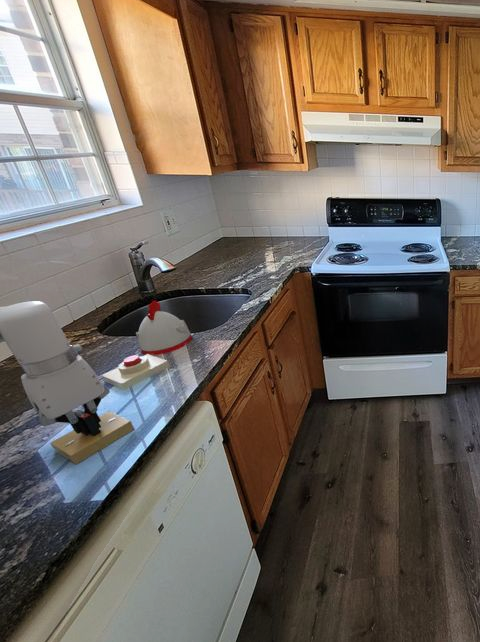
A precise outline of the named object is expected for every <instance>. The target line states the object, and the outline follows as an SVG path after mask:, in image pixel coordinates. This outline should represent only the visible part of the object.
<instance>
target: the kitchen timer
mask: <svg viewBox="0 0 480 642" xmlns="http://www.w3.org/2000/svg"><path fill="white" fill-rule="evenodd" d="M147 306H148V309H147V310H146V311H147V312H148V314H146V316H145V317H144V318H143V320H142V321H141V323H140V325H139V328H138V331H136V332H135V335H136V338H137V340H138V346H139V349H140V351H141V354H143V355H146V354H150V355H153V356H159V355H164V354H168V353H172V352H175V351H178V350H179V349H182V348H183V347H186V346H187V345H188V344H189V343H190V342H191V341H192V340H193V336H192V334H191V331H190V330H189V328H188V325H187V323H186V321H185V320H184V319H180V318H179V317H177V316H176V315H173V314H171V313H170V312H166V311H163V310H161V304H160V301H158V302H157V300H152V302H149V304H147Z"/></svg>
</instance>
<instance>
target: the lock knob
mask: <svg viewBox="0 0 480 642" xmlns="http://www.w3.org/2000/svg"><path fill="white" fill-rule="evenodd" d="M73 413H74V414H75V415H76V417H78V418H79V419H80V420H82V421H83V422H84V424H85V426H86V427H87V429H88V431H89V432H90V433H89V434H90V435H92V436H96V435H97V434H99V433H101V431H100V429H99V427H98V426H97V424H96V422H95V420H94V419H93V417H92V415H90V414H88V413H86V412H84V410H82V409H77V410H74V411H73Z"/></svg>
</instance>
